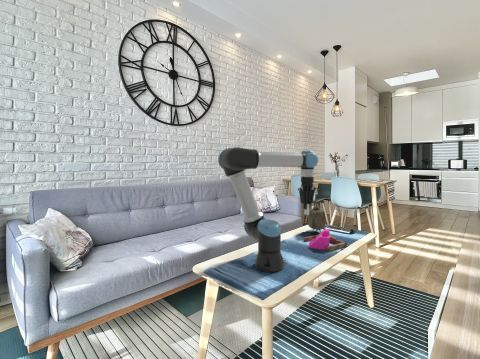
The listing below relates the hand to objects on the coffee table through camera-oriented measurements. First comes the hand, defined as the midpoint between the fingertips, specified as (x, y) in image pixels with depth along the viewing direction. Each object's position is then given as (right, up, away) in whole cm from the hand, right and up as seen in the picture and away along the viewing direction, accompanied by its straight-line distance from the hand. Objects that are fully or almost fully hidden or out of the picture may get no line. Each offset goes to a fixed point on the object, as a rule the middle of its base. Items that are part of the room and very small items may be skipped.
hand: (306, 214), depth 153 cm
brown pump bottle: (+16, -19, +33) cm, 41 cm away
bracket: (+9, -21, +5) cm, 24 cm away
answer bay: (+14, -20, +9) cm, 26 cm away
